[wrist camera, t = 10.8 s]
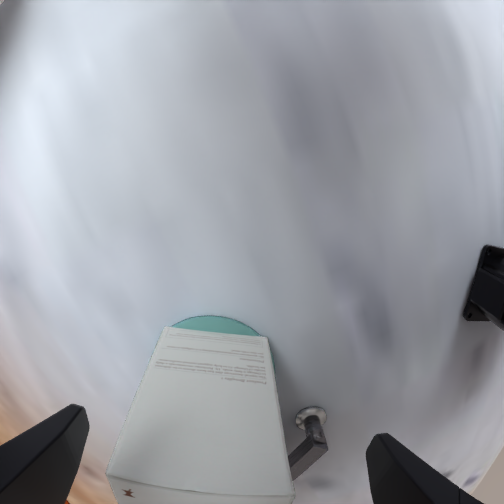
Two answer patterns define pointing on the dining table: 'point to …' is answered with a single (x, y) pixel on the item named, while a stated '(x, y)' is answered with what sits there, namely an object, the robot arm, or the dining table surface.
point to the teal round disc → (218, 326)
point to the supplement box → (204, 426)
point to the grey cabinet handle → (308, 440)
